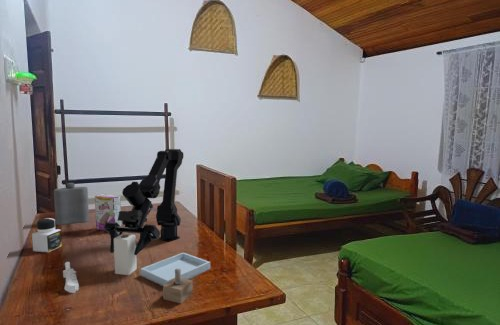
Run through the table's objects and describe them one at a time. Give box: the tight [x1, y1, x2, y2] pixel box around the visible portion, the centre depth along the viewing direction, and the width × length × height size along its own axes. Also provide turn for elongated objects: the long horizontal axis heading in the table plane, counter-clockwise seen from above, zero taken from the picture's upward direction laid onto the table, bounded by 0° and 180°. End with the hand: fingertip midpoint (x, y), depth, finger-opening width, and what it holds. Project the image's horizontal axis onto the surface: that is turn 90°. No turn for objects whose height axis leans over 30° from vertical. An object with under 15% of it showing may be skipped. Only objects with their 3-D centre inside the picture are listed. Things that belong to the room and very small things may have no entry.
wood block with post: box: [162, 269, 194, 304], centre depth 96 cm, size 6×6×8 cm
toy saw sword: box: [62, 261, 80, 294], centre depth 107 cm, size 3×4×22 cm
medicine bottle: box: [31, 217, 62, 253], centre depth 133 cm, size 7×7×12 cm
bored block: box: [113, 233, 138, 276], centre depth 112 cm, size 5×5×12 cm
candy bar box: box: [94, 193, 123, 232], centre depth 157 cm, size 11×5×16 cm, turn 71°
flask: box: [53, 182, 90, 226], centre depth 169 cm, size 15×6×20 cm, turn 121°
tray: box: [140, 252, 211, 287], centre depth 112 cm, size 18×14×2 cm
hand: (123, 253), depth 111 cm, fingers open, 8 cm apart
